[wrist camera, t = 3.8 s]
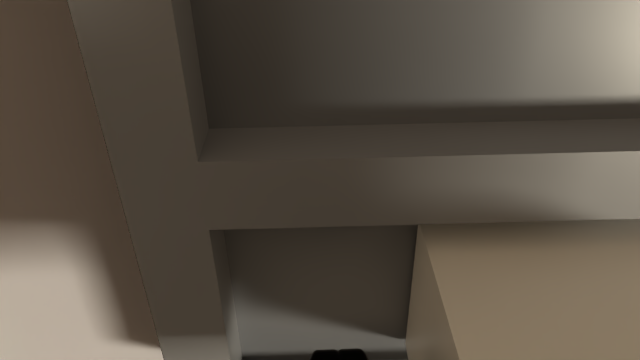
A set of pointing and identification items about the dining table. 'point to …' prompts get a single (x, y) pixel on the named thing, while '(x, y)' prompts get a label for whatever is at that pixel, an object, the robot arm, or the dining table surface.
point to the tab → (526, 291)
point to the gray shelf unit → (346, 150)
